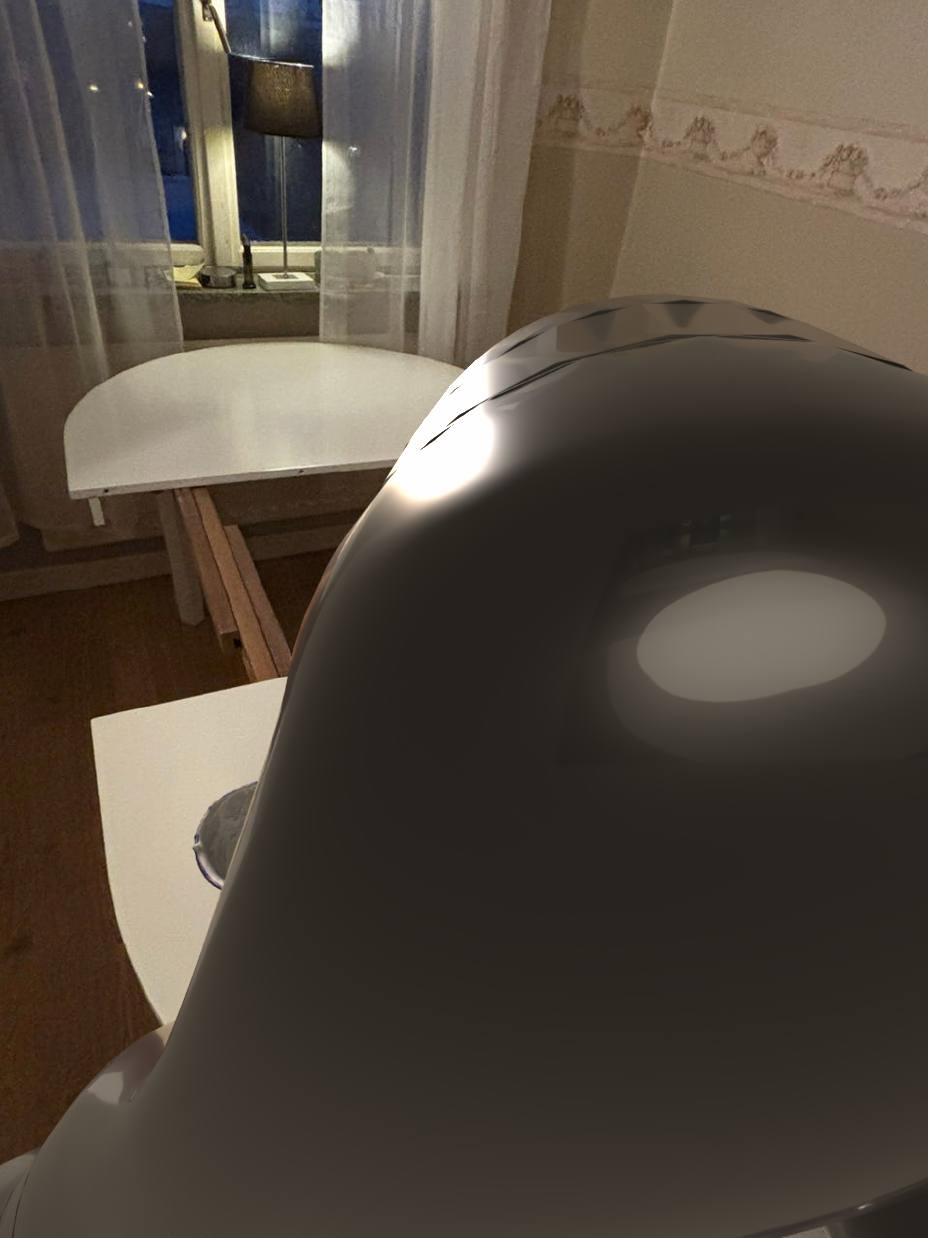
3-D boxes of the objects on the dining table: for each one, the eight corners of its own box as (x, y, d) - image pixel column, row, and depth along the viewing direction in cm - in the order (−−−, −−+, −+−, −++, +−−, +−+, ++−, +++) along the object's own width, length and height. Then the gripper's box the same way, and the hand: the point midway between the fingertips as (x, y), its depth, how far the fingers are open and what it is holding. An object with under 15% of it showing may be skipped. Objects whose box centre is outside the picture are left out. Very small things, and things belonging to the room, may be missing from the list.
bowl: (231, 949, 65) (225, 920, 62) (180, 844, 73) (172, 813, 70) (359, 878, 72) (359, 849, 69) (300, 788, 80) (298, 759, 77)
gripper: (462, 1187, 36) (554, 1081, 50) (271, 986, 42) (402, 943, 57) (382, 1321, 36) (497, 1176, 50) (203, 1099, 42) (351, 1027, 57)
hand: (446, 1052), depth 54 cm, fingers open, 7 cm apart
